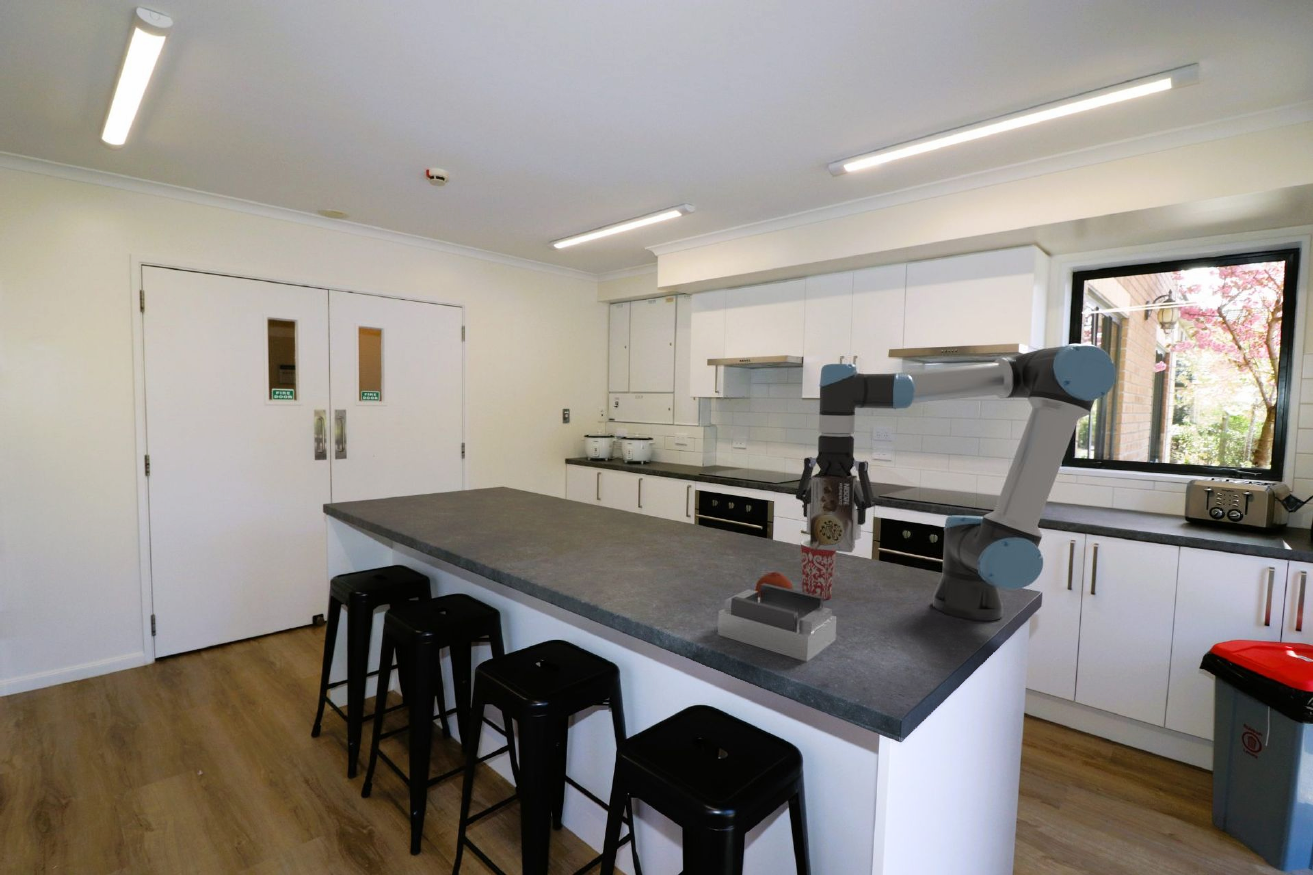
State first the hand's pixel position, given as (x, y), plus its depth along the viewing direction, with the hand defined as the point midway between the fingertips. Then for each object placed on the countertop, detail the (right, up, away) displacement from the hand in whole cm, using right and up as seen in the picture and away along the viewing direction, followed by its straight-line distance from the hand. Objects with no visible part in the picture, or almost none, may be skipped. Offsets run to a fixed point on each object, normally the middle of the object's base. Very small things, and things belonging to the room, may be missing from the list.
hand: (832, 535), depth 136 cm
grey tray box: (-14, -20, -7) cm, 26 cm away
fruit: (-11, -19, +13) cm, 26 cm away
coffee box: (0, -3, 0) cm, 3 cm away
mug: (+3, -19, +22) cm, 30 cm away
